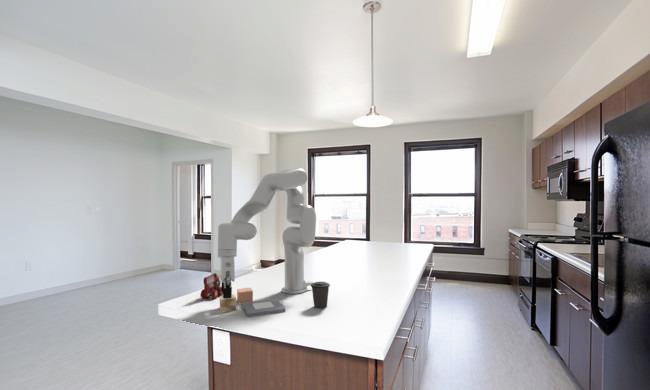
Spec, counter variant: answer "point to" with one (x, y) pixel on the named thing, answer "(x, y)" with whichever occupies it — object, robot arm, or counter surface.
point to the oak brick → (228, 303)
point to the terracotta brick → (244, 295)
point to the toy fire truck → (211, 287)
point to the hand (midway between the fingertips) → (226, 294)
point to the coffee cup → (320, 294)
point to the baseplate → (263, 307)
